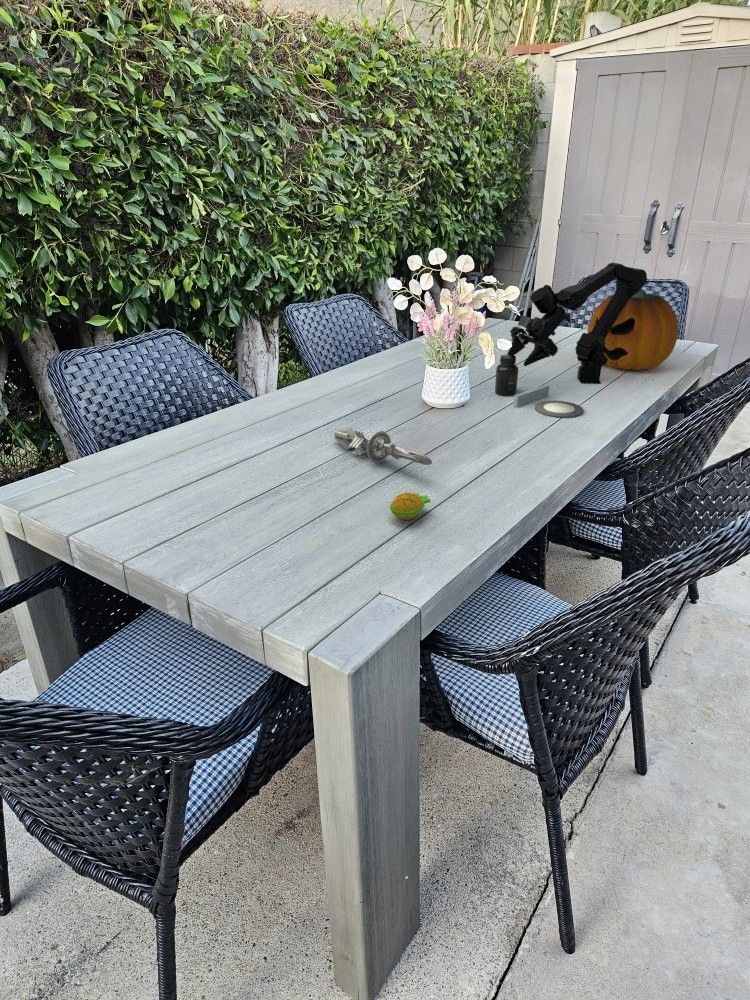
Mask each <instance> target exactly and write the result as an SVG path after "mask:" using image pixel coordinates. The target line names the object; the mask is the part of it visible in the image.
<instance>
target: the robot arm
mask: <svg viewBox="0 0 750 1000" xmlns="http://www.w3.org/2000/svg"><path fill="white" fill-rule="evenodd" d="M647 276H648V275H647V272H646V270H644V269H641V268H637V267H636V268H635V267H631V266H626V265H624V264H622V263H618V262H610V263H608V264H607V265H606V266H605V267H603V268H602V269H600V270H599V271H597V272H595V273H594V274H593V275H591V276H589V277H588V278H586V279H584V280H583V281H582V282H580V283H577V284H574V285H573V284H572V285H569V286H567V287H564V288H562V289H560V290H559V291H558V292H557V293H555V292H554V291H553V288H552V286H551V285H548V284H545V285H544V286H542V287H540V288H538V289H536V290H534V291H533V292H532V294H531V296H530V298H529V299H530V301H531V303H532V304H533V305H534V306H535V308H536V309H537V311H538V312H539V313H540V314H542V315H543V316H541V318H540V317H537V316H535V317H534V318H532V317H529V316H526V315H523V314H521V316H520V319H519V320H518V323H517V326H513V327H512V329H510V331H509V333H510V337H511V344H512V347H511V348H510V347H509V349H508V351H507V354H506V355H513V356H516V355H517V354H518V353H520V352H521V351H522V350H523V349H525V348H526V345H528V344H529V343H530V344H534V348H533V350H532V351H531V352H530V354H529V355H528V356H527V357H526V359H525V360H524V362H523V364H522V365H523V367H527V366H529V365H531V364H533V363H536V362H538V361H541V360H543V359H546V358H550V357H555V355H556V354H557V353H558V351H559V350H558V349H559V348H558V346H557V345H556V343H555V342H554V341H553V339H552V338H550V337H551V336H555V335H556V334H557V333H556V332H555V331H556V330H557V329H558V327H560V325H561V324H562V322H566V323H570V322H571V313H570V312H568V311H565V309H566V310H570V311H577V310H579V309H580V308H581V307H582V306H583V305H584V304H585V303H586V302H587V300H588V298H589V297H590V296H591V295H593V294H594V293H596V292H597V291H598V290H600V289H602V288H604V287H605V286H607V285H608V284H610V283H611V282H613V281H614V280H616V281H615V283H616V284H615V292H614V293H613V294H612V295H613V297H612V298H611V300H610V302H609V303H608V305H607V307H606V308H605V310H604V312H603V313H602V315H601V317H600V318H599V320H598V322H597V323H596V325H595V327H594V328H593V330H592V331H591V332H589V333H588V334H587V332H583V333H582V334H581V336H580V337H579V339H578V340H577V341H576V345H575V354H576V357H577V361H579V362H580V365H579V366H578V368H577V379H578V381H579V382H580V384H593V385H594V384H597V385H598V384H599V385H600V384H601V383H602V382H601V380H600V379H601V374H602V367H605V366H606V363H607V360H608V359H607V358H606V356H605V355H604V353H603V350H604V348H605V338H606V336H607V334H608V333H609V331H610V330H611V328H612V326H613V325H614V323H615V321H616V320H617V318H618V316H619V315H620V313H621V311H622V310H623V308H624V307H625V305H626V303H627V302H628V300H629V299H630V298H631V297H632V296H634V295H635V294H636V293H638V292H639V291H640V290H641V289H643V287H644V286H645V285H646V284H647V281H648V277H647ZM522 327H523V328H522ZM524 328H525V329H524Z"/></svg>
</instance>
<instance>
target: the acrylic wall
mask: <svg viewBox="0 0 750 1000" xmlns="http://www.w3.org/2000/svg"><path fill="white" fill-rule="evenodd" d="M549 391H550V385H548V384H545V385H542V386H539V387H536V388H533V389H530V390H527V391H523V392H521V393H516V394H515V395H513V396H514V399H513V407H514V408H519V407H522V406H524V405H528V404H530V403H534V402H536V401H539V400H542V399H545V398H549Z"/></svg>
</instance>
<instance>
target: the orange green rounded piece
mask: <svg viewBox="0 0 750 1000" xmlns="http://www.w3.org/2000/svg"><path fill="white" fill-rule="evenodd" d="M428 497H429V496H428V495H420V494H419V493H415V492H408V491H407V492H403V493H400V494H398V495H396V497H395V498H393V499H392V501H391V503H390V505H389V510H390V511H391V513H392V514H393V515H394V516H395V517H396V518H398V519H399V520H405V521H406V520H411V519H414V518H416V517H417V516H419V515H420V513H421V512H422V511H423V509H424V508H425V504H429V503H430V502H431V499H430V498H428Z"/></svg>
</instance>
